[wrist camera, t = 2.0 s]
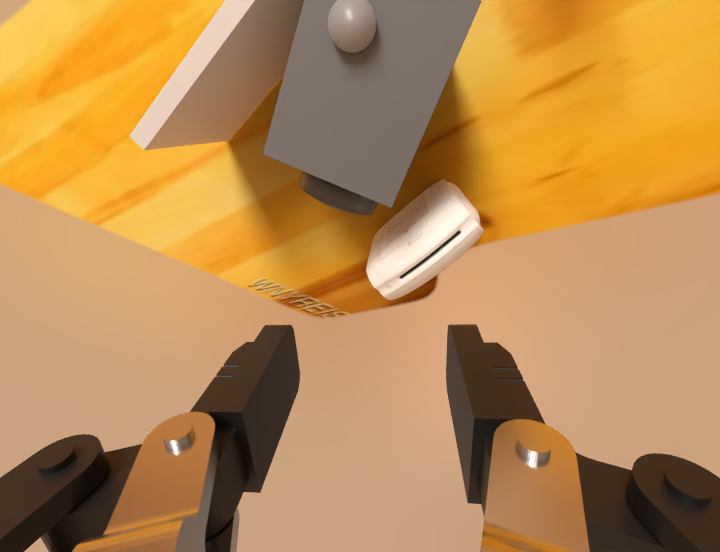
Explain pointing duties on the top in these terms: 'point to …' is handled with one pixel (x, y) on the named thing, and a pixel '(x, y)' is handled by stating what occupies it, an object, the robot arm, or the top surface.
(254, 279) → the top surface
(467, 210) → the photo printer
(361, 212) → the block
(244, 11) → the side door
